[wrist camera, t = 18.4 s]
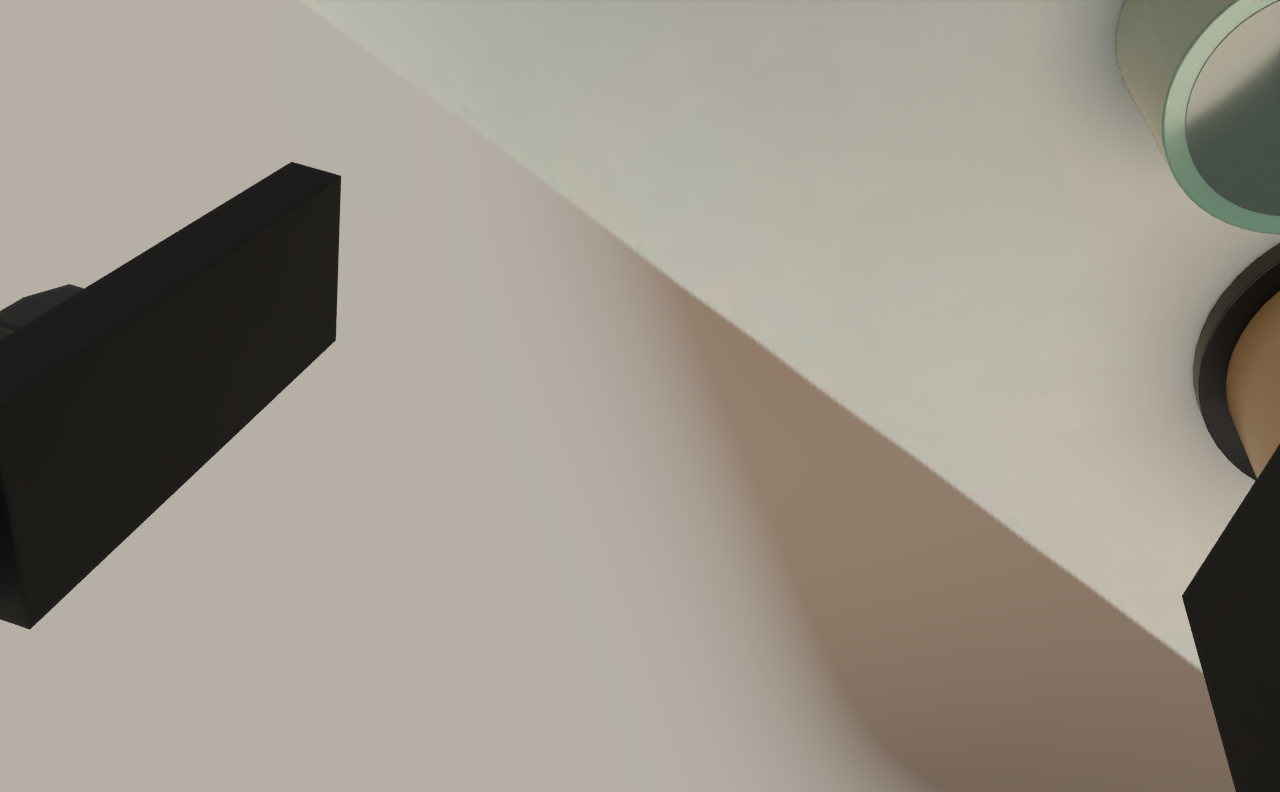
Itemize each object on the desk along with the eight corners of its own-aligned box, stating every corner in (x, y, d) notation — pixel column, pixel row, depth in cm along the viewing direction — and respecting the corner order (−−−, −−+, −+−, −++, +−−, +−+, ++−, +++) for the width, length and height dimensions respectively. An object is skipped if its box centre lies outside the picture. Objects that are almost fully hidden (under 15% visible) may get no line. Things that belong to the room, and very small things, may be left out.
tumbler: (1117, -67, 38) (1168, -15, 29) (1366, -108, 35) (1503, -63, 27) (1113, 142, 41) (1157, 246, 32) (1339, 118, 39) (1452, 223, 30)
